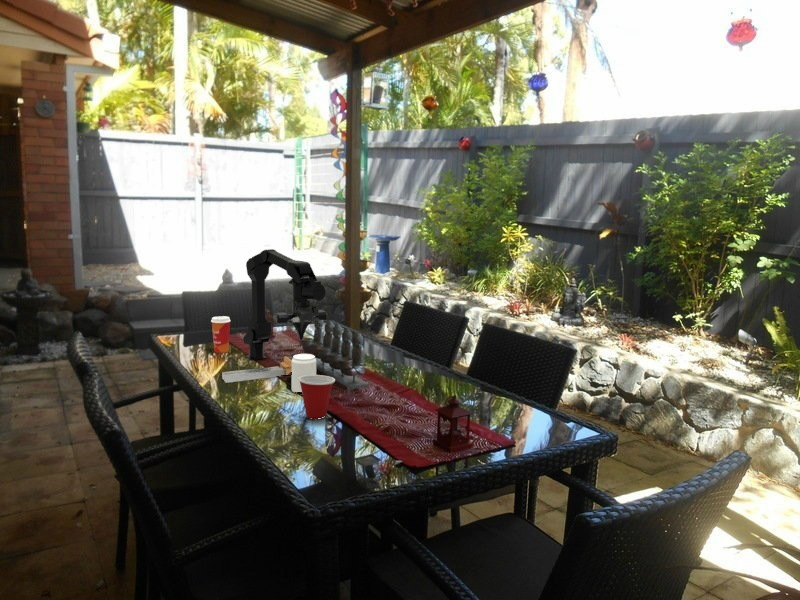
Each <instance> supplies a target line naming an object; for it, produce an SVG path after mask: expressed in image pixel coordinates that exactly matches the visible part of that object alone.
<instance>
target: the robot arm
mask: <svg viewBox="0 0 800 600" xmlns="http://www.w3.org/2000/svg"><path fill="white" fill-rule="evenodd" d="M273 265H275V266H276V267H278V268H280V269H282V270H284V271H285V272H286V274H287V275H288V276H289V277H290V278H291V279H290V280H288V284H290V285H292V299H291V303H292V310H291V313H292V314H291V313H290V314H289V313H286V312H284V311H282V312H275V313H273V321H274V322H275V323H277V324H286V323H287V322H289V323H290V324H291V325H293V327H294V329H295V331H296V335H297V337H298V339H299V340H300V341H302V340H303V339H304V336H305V333H306V330H307V329H308V326H309V325H310V324H313V321H314V319H318V320H319V321H326V320H327V321H328V312H326V311H325V310H323V309H319V306H318V305H315V306H311V303H310V302H311V301H312V300H313V301H318V302H319V301H322V300H323V299H324V298H325V296H326V289H325V287H324V285H322V281H321V280H318V279H317V277H316V275H315V272H314V270H313V268H312V265H311V263H310V262H308V261H304V260H297V259H296V260H295V259H293V258H291V257H289V256H286V255H285V254H282V253H281V252H278V251H277V250H276V249H272V248H271V249H263V250H262V251H260V253H258V254H256V255H253V256H252V257H250V258H248V260H247V261H246V264H245V267H246V275H247V276H248V277H249V279H250V281H251V310H252V311H251V312H252V313H251V314H252V317H251V319H250V321H249V323H248V327H247V328H248V329H247V332H246V333H245V335H244V336H243V337H242V340H243V343H244V344H245V345H248V354H246V356H245V357H246V358H247V359H249V360H250V361H256V360H265V359H266V360H267V358H268V357H267V356H266V355H265V343H269V342H270V338H271V334H272V332H273V331H272V322H271V321H269V320H268V319H267V317H266V280H267V278H268V276H269V272H270V267H272V266H273Z"/></svg>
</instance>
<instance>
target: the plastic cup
mask: <svg viewBox="0 0 800 600" xmlns="http://www.w3.org/2000/svg"><path fill="white" fill-rule="evenodd" d="M299 381H300V385H301V389H302V394H301V395H302V400H303V406H304V411H305V415H306V418H307V417H308V418H312V419H318V418H322V417H324V416H326V417H327V412H328V407H329V404H330V403H329V402H330V398H331V393H332V389H333V385H334V383H335V382H336V379H335V378H334V377H332V376H329V375H323V374H321V375H320V374H316V375H305V376H301V377H299ZM308 418H307V419H308ZM312 419H311V420H312Z"/></svg>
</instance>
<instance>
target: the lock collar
mask: <svg viewBox="0 0 800 600" xmlns="http://www.w3.org/2000/svg"><path fill="white" fill-rule="evenodd" d="M281 366H283V367H284V368H285V369H286V375H288V374H289V373H290V372H292V359H291V358H289V357H288V356H283V361H280V362H279V368H281Z"/></svg>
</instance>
